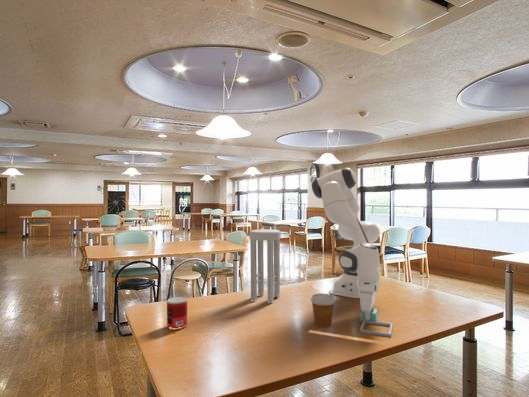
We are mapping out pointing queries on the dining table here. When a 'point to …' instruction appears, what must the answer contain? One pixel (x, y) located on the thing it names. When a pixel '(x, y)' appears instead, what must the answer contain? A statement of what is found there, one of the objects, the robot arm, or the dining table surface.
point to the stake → (362, 320)
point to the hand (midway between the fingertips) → (368, 316)
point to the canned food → (177, 312)
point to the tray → (376, 331)
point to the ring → (372, 315)
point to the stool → (269, 236)
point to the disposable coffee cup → (323, 309)
